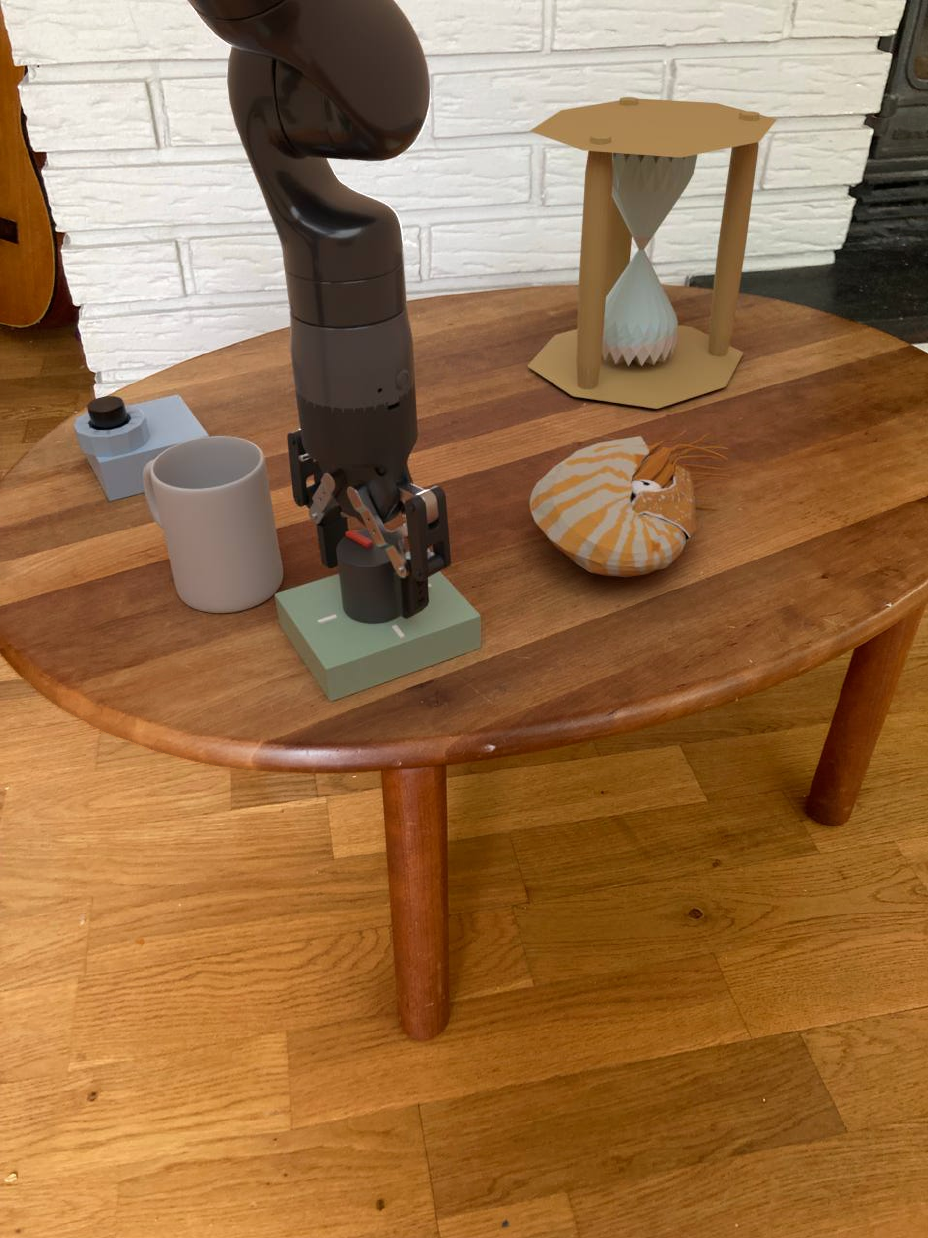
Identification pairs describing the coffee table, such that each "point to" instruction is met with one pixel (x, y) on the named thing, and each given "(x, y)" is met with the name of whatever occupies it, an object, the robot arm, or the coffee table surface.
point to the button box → (135, 442)
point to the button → (107, 413)
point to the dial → (366, 578)
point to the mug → (216, 522)
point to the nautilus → (620, 505)
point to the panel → (374, 635)
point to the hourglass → (630, 290)
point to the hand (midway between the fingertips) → (373, 586)
